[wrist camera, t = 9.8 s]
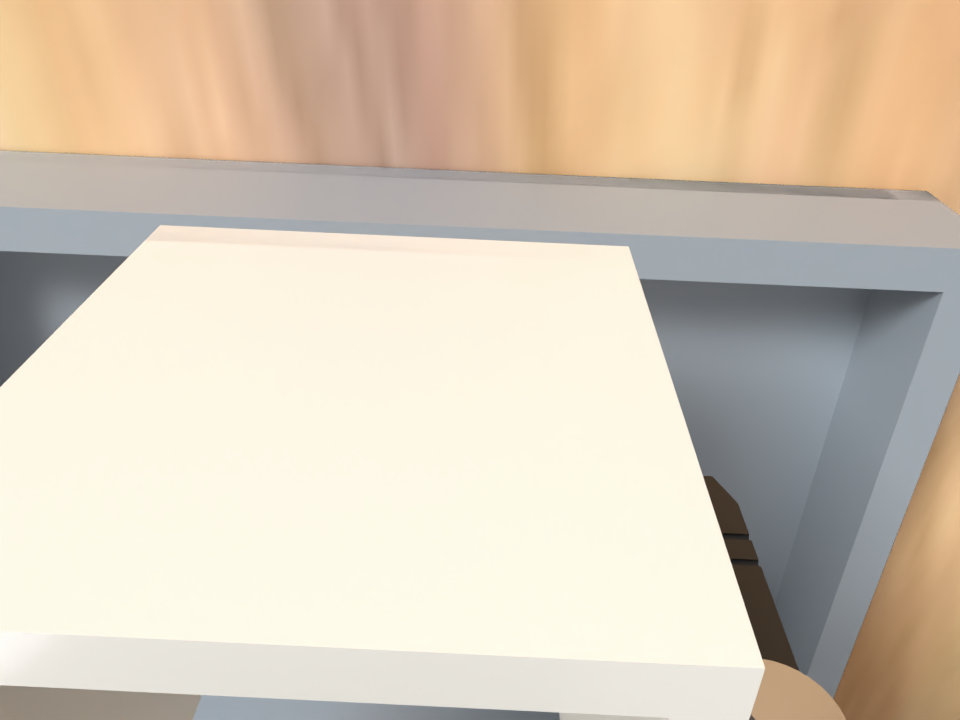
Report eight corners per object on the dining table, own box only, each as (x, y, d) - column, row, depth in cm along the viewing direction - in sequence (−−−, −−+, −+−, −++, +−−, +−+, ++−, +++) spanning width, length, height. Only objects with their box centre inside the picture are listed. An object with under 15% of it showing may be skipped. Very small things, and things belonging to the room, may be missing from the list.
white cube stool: (628, 246, 11) (765, 668, 5) (582, 585, 14) (633, 1083, 8) (159, 225, 11) (-230, 619, 5) (218, 568, 14) (16, 1053, 8)
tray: (926, 191, 16) (1007, 250, 14) (772, 668, 23) (806, 767, 21) (-87, 146, 16) (-198, 197, 14) (66, 637, 23) (12, 732, 21)
